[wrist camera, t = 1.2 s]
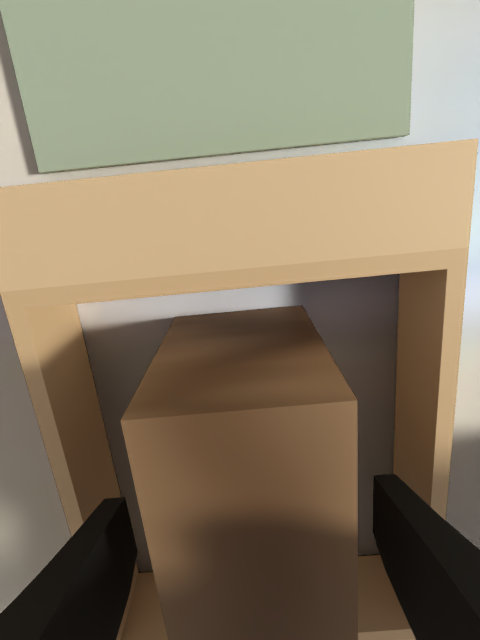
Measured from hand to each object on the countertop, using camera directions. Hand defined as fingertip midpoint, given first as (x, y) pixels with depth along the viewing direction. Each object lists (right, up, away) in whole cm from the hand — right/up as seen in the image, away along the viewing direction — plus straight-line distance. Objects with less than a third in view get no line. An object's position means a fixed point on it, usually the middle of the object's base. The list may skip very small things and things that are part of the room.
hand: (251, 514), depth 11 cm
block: (0, +1, +4) cm, 4 cm away
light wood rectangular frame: (0, +1, +4) cm, 4 cm away
